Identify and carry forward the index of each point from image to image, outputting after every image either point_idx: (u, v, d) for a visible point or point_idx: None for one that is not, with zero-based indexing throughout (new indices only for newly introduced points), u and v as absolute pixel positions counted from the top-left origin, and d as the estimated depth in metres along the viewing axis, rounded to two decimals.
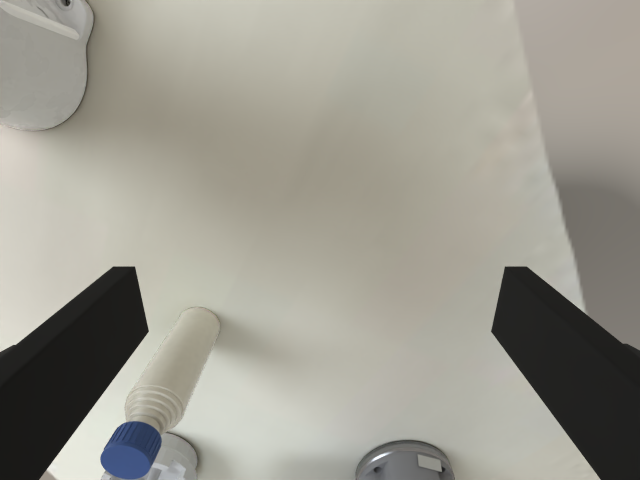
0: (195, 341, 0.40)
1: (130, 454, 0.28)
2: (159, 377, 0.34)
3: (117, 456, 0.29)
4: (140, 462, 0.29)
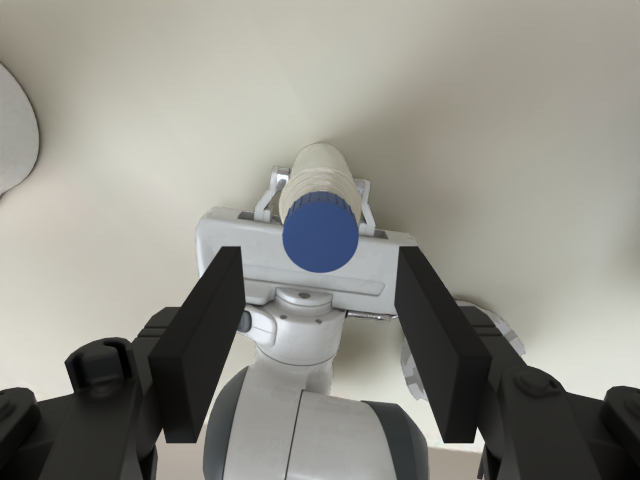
0: (309, 153, 0.29)
1: (310, 219, 0.18)
2: (289, 177, 0.24)
3: (303, 238, 0.18)
4: (332, 219, 0.18)
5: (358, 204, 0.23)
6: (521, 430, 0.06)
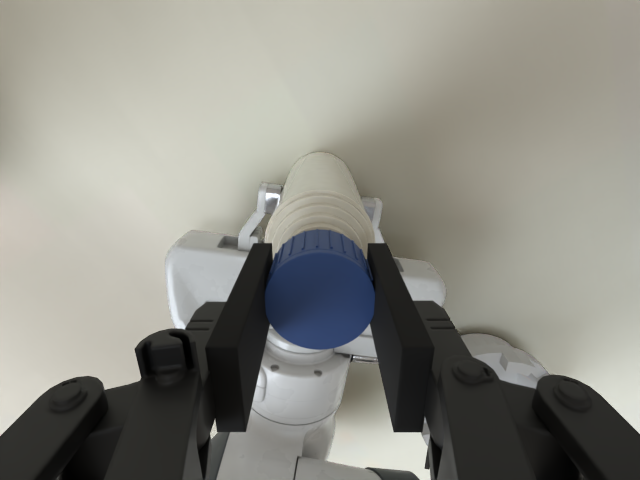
0: (306, 166, 0.24)
1: (305, 277, 0.12)
2: (279, 203, 0.18)
3: (294, 304, 0.13)
4: (337, 276, 0.12)
5: (371, 240, 0.17)
6: (457, 419, 0.07)
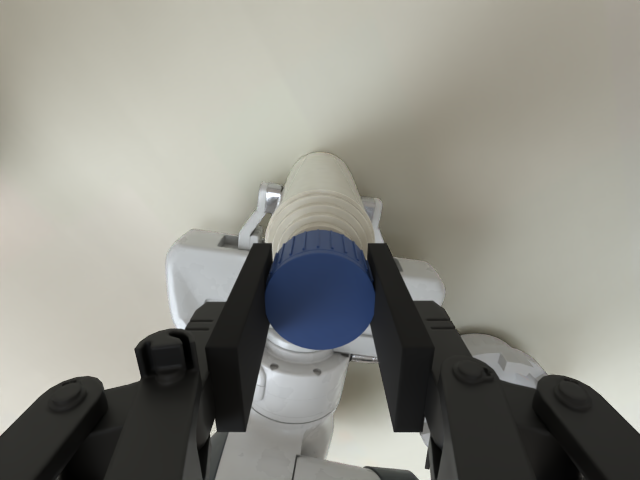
0: (307, 166, 0.24)
1: (299, 325, 0.13)
2: (279, 202, 0.18)
3: (330, 324, 0.13)
4: (284, 301, 0.12)
5: (371, 239, 0.17)
6: (458, 420, 0.07)
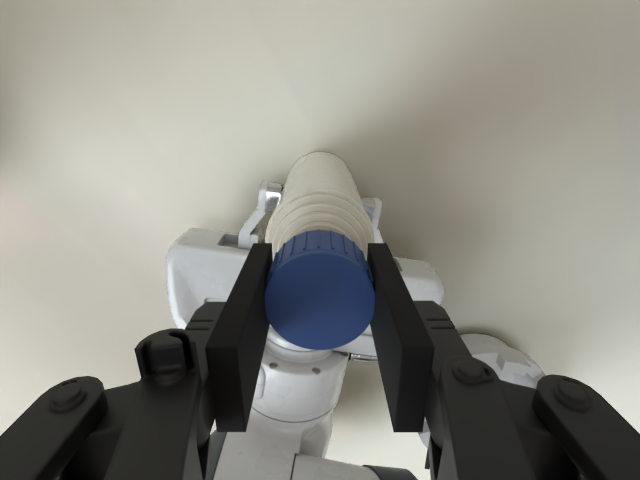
0: (307, 165, 0.24)
1: (351, 312, 0.13)
2: (280, 201, 0.18)
3: (337, 288, 0.12)
4: (331, 332, 0.13)
5: (370, 239, 0.17)
6: (457, 419, 0.07)
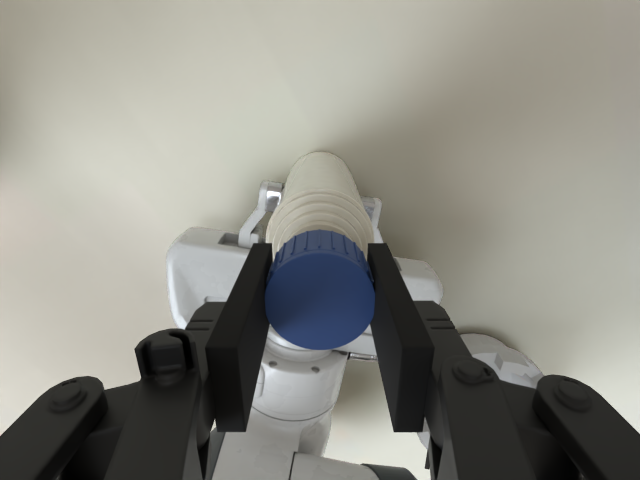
0: (307, 165, 0.24)
1: (314, 275, 0.12)
2: (280, 200, 0.18)
3: (295, 298, 0.12)
4: (346, 283, 0.12)
5: (370, 238, 0.17)
6: (457, 419, 0.07)
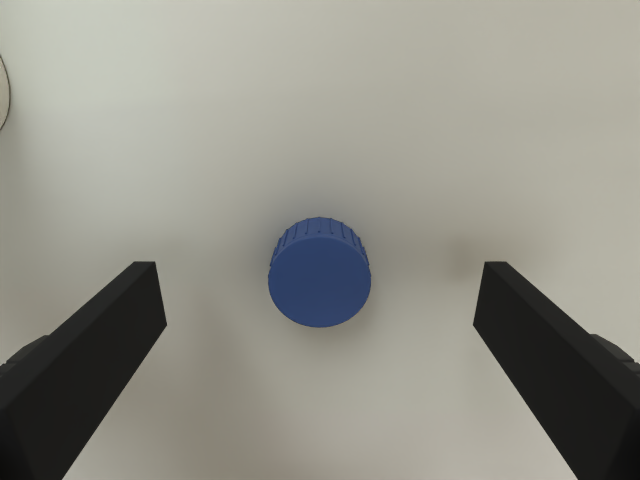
0: None
1: (314, 257, 0.13)
2: None
3: (297, 278, 0.14)
4: (343, 264, 0.13)
5: None
6: None
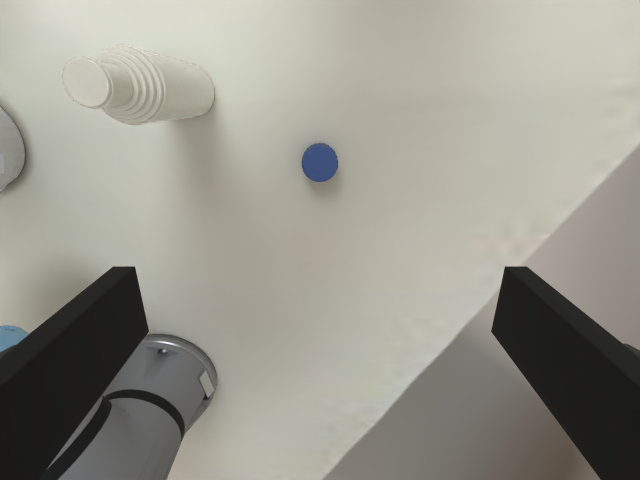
0: (196, 93, 0.33)
1: (318, 153, 0.39)
2: (165, 71, 0.27)
3: (312, 161, 0.40)
4: (327, 156, 0.39)
5: (122, 120, 0.27)
6: None
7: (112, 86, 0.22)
